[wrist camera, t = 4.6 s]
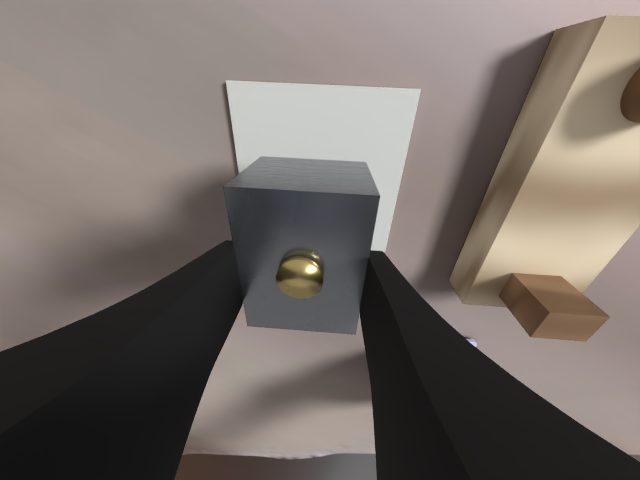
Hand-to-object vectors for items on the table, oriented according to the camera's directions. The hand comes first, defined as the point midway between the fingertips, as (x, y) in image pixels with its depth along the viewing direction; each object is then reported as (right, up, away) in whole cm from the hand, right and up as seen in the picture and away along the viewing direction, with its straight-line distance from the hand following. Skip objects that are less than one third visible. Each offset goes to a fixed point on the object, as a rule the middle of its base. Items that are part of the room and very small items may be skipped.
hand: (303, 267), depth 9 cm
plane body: (+14, +4, +6) cm, 16 cm away
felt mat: (0, +4, +7) cm, 8 cm away
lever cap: (0, +2, +3) cm, 3 cm away
